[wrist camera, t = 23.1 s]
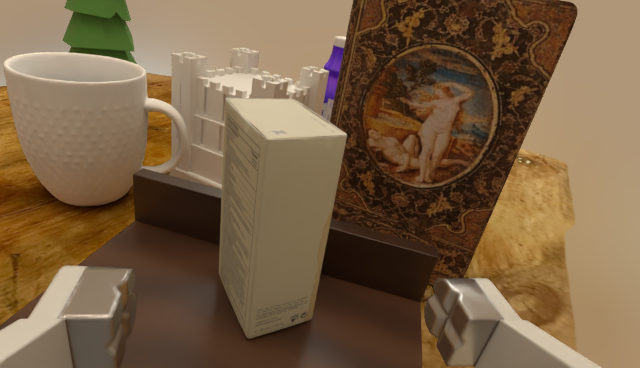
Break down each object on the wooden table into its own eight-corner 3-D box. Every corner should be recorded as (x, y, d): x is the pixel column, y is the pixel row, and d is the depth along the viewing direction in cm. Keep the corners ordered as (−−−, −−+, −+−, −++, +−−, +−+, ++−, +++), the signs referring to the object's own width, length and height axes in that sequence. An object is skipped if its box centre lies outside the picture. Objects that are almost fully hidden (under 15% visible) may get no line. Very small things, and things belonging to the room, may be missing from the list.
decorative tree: (156, 127, 58) (151, -114, 45) (107, 145, 50) (82, -143, 37) (105, 110, 61) (85, -124, 47) (49, 125, 52) (6, -153, 39)
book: (302, 229, 41) (351, -36, 30) (323, 209, 46) (373, -28, 34) (455, 296, 36) (585, 4, 24) (462, 265, 40) (574, 8, 29)
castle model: (234, 147, 57) (242, 47, 50) (325, 181, 52) (346, 75, 46) (169, 176, 46) (168, 53, 40) (275, 222, 41) (295, 90, 35)
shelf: (394, 574, 18) (460, 468, 14) (-18, 420, 20) (-65, 292, 16) (401, 339, 30) (437, 247, 26) (146, 262, 33) (142, 167, 28)
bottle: (306, 140, 65) (325, 31, 57) (339, 143, 66) (362, 38, 58) (313, 158, 58) (335, 38, 51) (348, 162, 60) (375, 45, 52)
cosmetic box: (313, 322, 23) (355, 137, 18) (243, 343, 21) (267, 140, 16) (273, 258, 28) (298, 96, 23) (212, 270, 26) (223, 94, 20)
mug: (188, 171, 48) (191, 65, 42) (184, 220, 39) (186, 93, 33) (50, 165, 43) (31, 46, 38) (7, 219, 34) (-27, 72, 28)
